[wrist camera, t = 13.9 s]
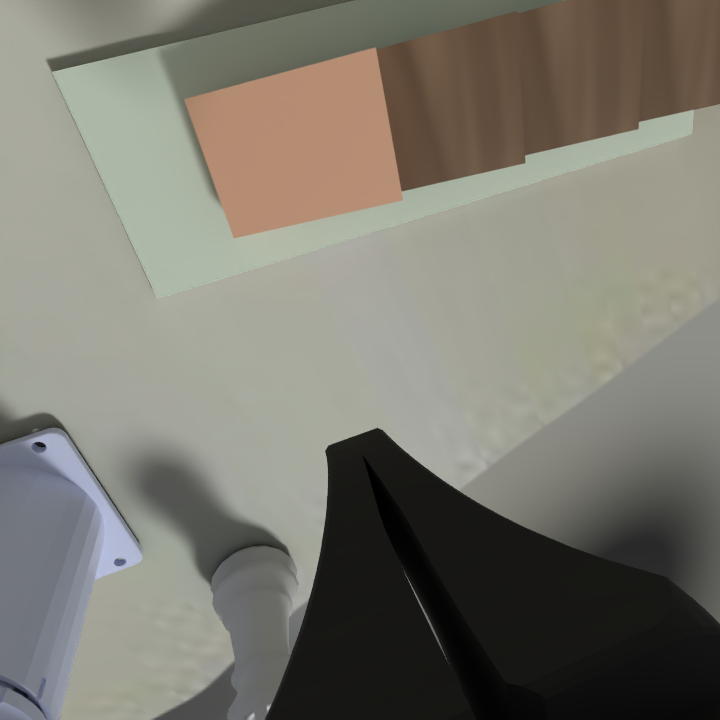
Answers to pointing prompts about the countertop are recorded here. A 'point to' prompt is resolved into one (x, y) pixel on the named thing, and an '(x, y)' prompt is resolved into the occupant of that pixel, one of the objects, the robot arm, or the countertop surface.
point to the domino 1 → (455, 102)
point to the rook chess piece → (256, 623)
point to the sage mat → (255, 61)
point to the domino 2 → (580, 71)
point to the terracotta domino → (299, 144)
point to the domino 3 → (679, 57)
